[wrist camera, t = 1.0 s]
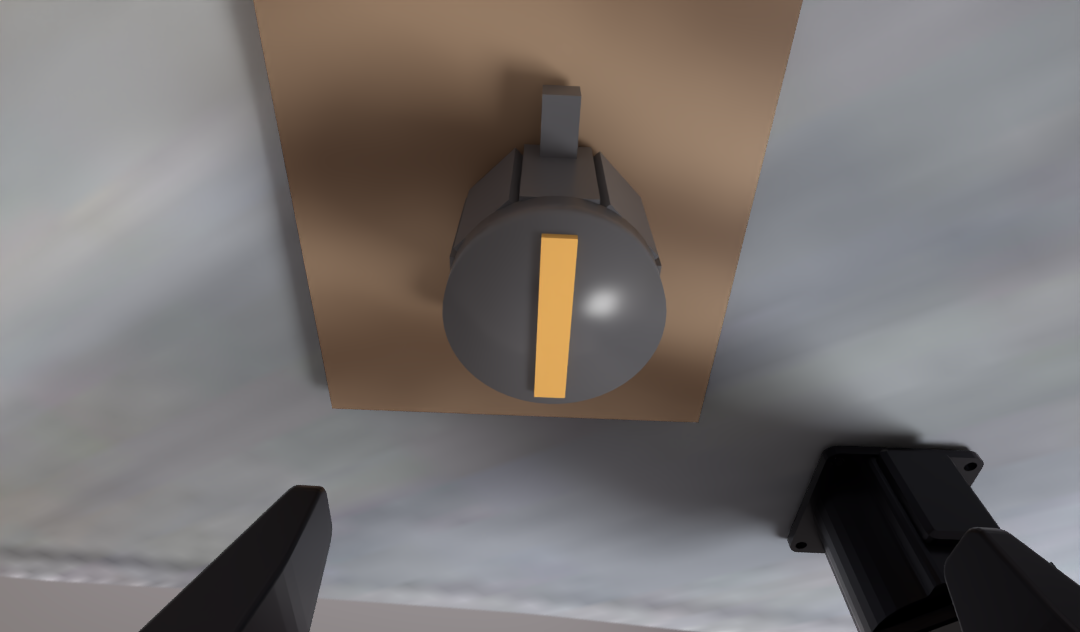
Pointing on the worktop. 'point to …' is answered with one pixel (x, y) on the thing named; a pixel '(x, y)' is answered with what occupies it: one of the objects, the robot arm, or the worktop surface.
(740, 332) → the worktop surface
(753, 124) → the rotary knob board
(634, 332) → the grey dial knob
